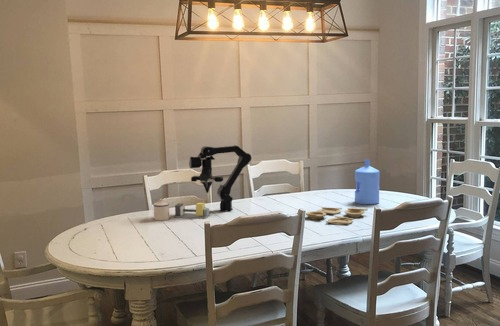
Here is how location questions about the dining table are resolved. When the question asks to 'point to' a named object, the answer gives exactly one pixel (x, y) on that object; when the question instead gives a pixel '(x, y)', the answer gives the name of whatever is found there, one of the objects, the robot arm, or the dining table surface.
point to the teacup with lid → (161, 210)
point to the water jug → (367, 184)
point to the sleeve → (200, 208)
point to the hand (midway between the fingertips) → (207, 192)
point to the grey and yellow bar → (181, 211)
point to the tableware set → (338, 220)
